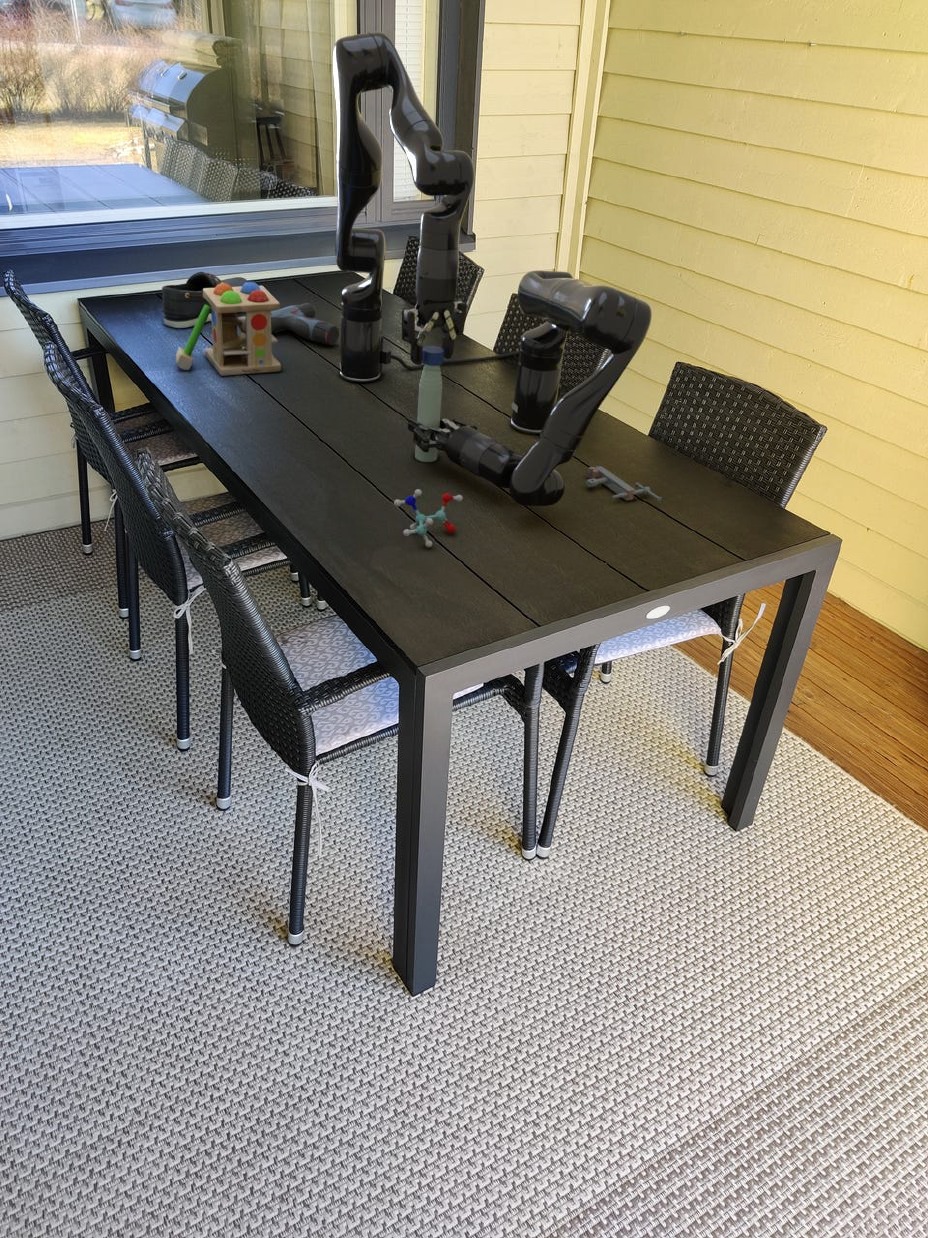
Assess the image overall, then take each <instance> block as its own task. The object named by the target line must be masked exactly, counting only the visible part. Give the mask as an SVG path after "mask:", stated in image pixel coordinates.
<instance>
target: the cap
mask: <svg viewBox="0 0 928 1238" xmlns="http://www.w3.org/2000/svg"><path fill="white" fill-rule="evenodd" d="M443 360H445V358H444V349H443V348H442V346H436V345H426V346H423V351H422V364H426V365H430V366H439V365H440V366H442V365H444V364H443ZM440 366H439V367H440Z"/></svg>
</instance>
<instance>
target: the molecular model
mask: <svg viewBox="0 0 928 1238" xmlns="http://www.w3.org/2000/svg"><path fill="white" fill-rule="evenodd" d="M422 494H423V491H422V490H421V489H419V488H417V489H415V490H414V494H413V495H409V496H407V497H406V499H402V500H401V499H397V498H396V499H395V500H394V501H393V504H394V506H395V507H401V505H405V504H407V505H408V506H411V507H412V509H413V511H414V513H415V515H416V516H415V522H414V523H411V524H410V525H409V529H408V528H406V529H404V530H403V532H402V533H403V536H405V537H410V535H413V534H417V535H418V536H421V537H423V540H424V541H425V543H424V545H425V547H426V548H432V546H433V542H432V540H430V539H429V538H428V535H427V533H428V527H429V526H432V525H433V524H434V519H436V521H439V522H440V523H442V525H443V527H445V530H446V532H447V533H448V534H454V533H455V532H456V526H455V525H454V524H452V523H450V521H449V520H448V518H447V515H446V512H445V510H446V507H447V504H448V503H450V502H451V501H456V502H459V503H460V502H462V501H463V499H464V498H463V495H461V494H457V495H451V494H450V493H448V492H446V493H444V494H442V496H441V500H442V501H443V502H442V504H441V508H440V510H438V511H436V512H435V514H433V515H432V514H431V515H425V514H423V513H421V512H420V511H419V509H418V507H417V505H416V503H417V498H418V497H420V496H422Z"/></svg>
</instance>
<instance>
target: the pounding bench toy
mask: <svg viewBox="0 0 928 1238" xmlns="http://www.w3.org/2000/svg"><path fill="white" fill-rule="evenodd" d="M203 296H204V297H205V299H206V300H207V301H208V302H209V304H210V305H211V307H210V306H208V305H204V307H203V309H202V311H201V314H200V316H199V318H198V320H197V322H196V324H195V325H194V326H193V329H192V331H191V332H190V333H191V334H190V336H189V338H188V340H187V343H186V344H185V347H184V348H182V347H180V346H179V347H178V349H177V351H176V354H175V357H174V358H175V362H176V365H177V366H178V368H179V369H182V370H185V371H189V370H190V369H191V367H192V365H193V363H194V356H193V351H194V348H195V347H196V345H197V342H198V340H199V337H200V336H201V333H202V332H203V329H204V326H205V325H206V323H207V322H206V320H207V318H209V320H210V321H209V322H211V336H212V337H211V338H212V339H211V340H212V348H205V349H204V352H205V353H204V355H205V357H206V359H208V361H209V363H210V364H211V365H212V366H213V367H214V369H215V370H216V371H217V372H218V374H219V375H220V376H222V377H223V376H234V375H235V376H236V375H246V374H247V375H250V374H262V373H275V372H281V370H282V364H281V363H280V362H279V360H278V359H277V358H276V357H275V356H274V355H273V348H272V347H273V345H272V344H276V343H278V342H279V341H278V339H277V338H276V337H275V336H274V334H273V333H272V334H271V312H272V311H275V310H280V309H281V304H280V301H278V300H277V299H276V297H274V296H273V295H272V294H271V293H270V292H269V290H268V289H267V288H266V287H264V285H259V284H257V283H256V282H255V281H248V282H247V283H245V284H244V285H243V286H242V287H231V286H230V285H228V284H226V283H221V284H218V285H217V286H216V287H215V288H204V289H203ZM210 310H211V314H209V312H210ZM238 313H244V314H245V315H244V316H238ZM238 329H239V331H240V333H239V334H238Z"/></svg>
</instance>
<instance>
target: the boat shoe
mask: <svg viewBox="0 0 928 1238" xmlns="http://www.w3.org/2000/svg"><path fill="white" fill-rule="evenodd" d="M247 282H249V281H248V279H247V278H244V277H240V276H238V277H237V276H236V277H229V278H226V279H221V278H219V277H217V276H216V275H215V274H213V273H209V272H204V271H198V272H195V273H193V274H192V275H191V276H189V278H187V280H186V282H185V283H180V284H167V285H163V286H162V287H161V292H162V308H161V309H160V310H161V312H162V313H163V314H164V315H163V322H164V325H166V326H168V327H171V328H177V329H182V328H185V329H186V328H190V327H195V324H196V322H197V320H198V318H199V316H200V314H201V311H202V309H203V307H204V305H208V306H210V307H211V305H210V304H209V302H208V301H207V300H206V299H205V297H204V296H203V289H204V288H215V287H216V286H217V285H218V284H221V283H226V284H228V285H230V286H231V287H242V286H243V285H244V284H245V283H247ZM209 314H211V310H210V312H209ZM208 322H211V321H210V320H209V318H207V320H206V322H205V323H208Z"/></svg>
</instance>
